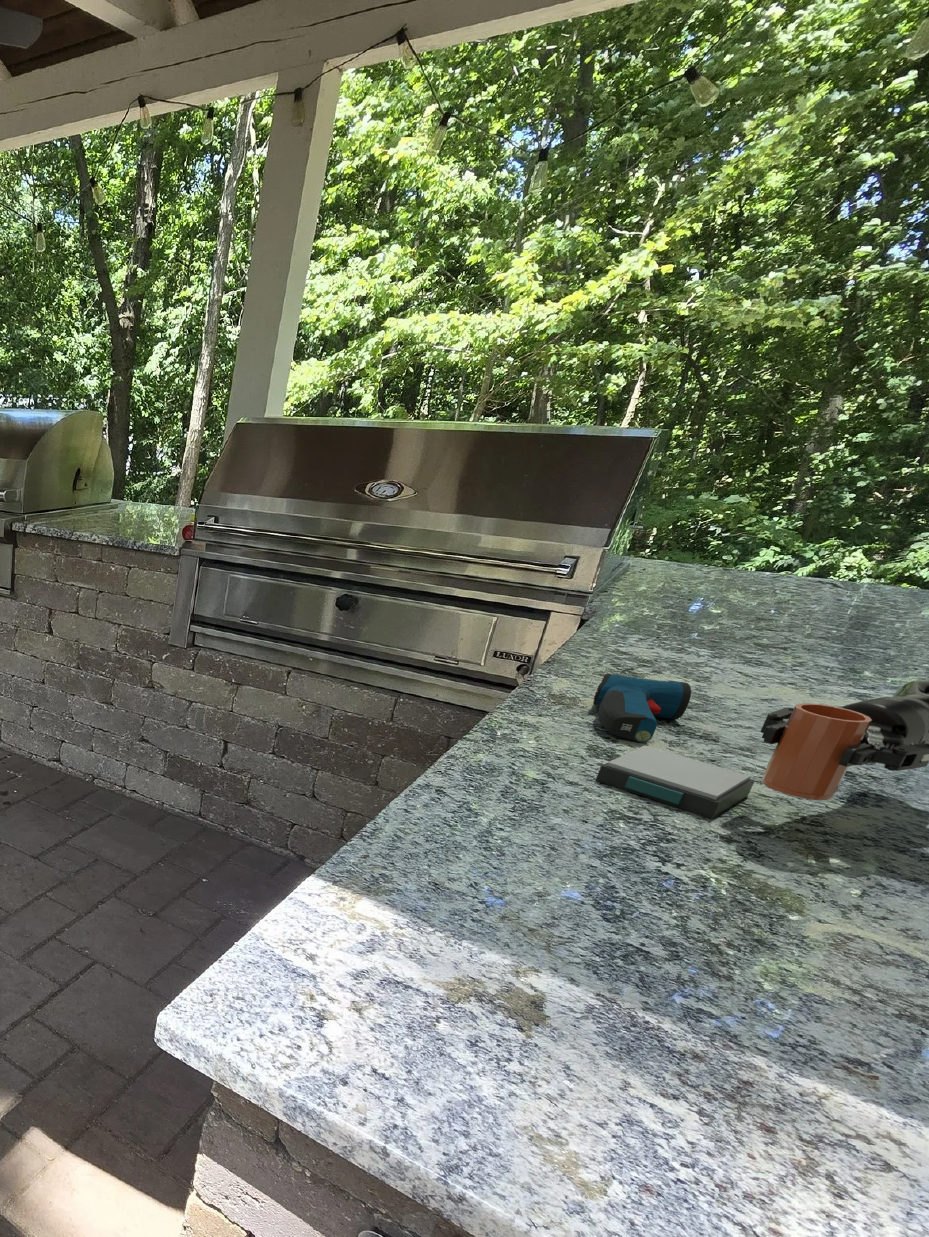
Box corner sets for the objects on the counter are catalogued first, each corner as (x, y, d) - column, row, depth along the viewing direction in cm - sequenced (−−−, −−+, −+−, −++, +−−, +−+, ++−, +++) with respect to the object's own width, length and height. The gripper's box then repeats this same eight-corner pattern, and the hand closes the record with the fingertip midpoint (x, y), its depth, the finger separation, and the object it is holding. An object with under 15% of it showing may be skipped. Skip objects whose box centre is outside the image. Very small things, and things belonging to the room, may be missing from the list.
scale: (747, 795, 110) (757, 776, 109) (710, 819, 103) (719, 799, 102) (634, 761, 120) (641, 743, 119) (593, 781, 114) (601, 762, 112)
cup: (839, 792, 96) (878, 715, 92) (823, 804, 93) (862, 725, 90) (770, 773, 101) (805, 699, 97) (753, 784, 98) (788, 708, 94)
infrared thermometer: (720, 721, 121) (685, 677, 136) (613, 706, 126) (591, 665, 142) (703, 759, 124) (671, 711, 139) (598, 742, 129) (579, 698, 145)
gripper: (819, 682, 104) (745, 696, 99) (982, 720, 92) (907, 739, 87) (794, 735, 107) (720, 752, 102) (949, 778, 95) (875, 801, 89)
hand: (807, 746), depth 94 cm, fingers closed on cup, 6 cm apart
